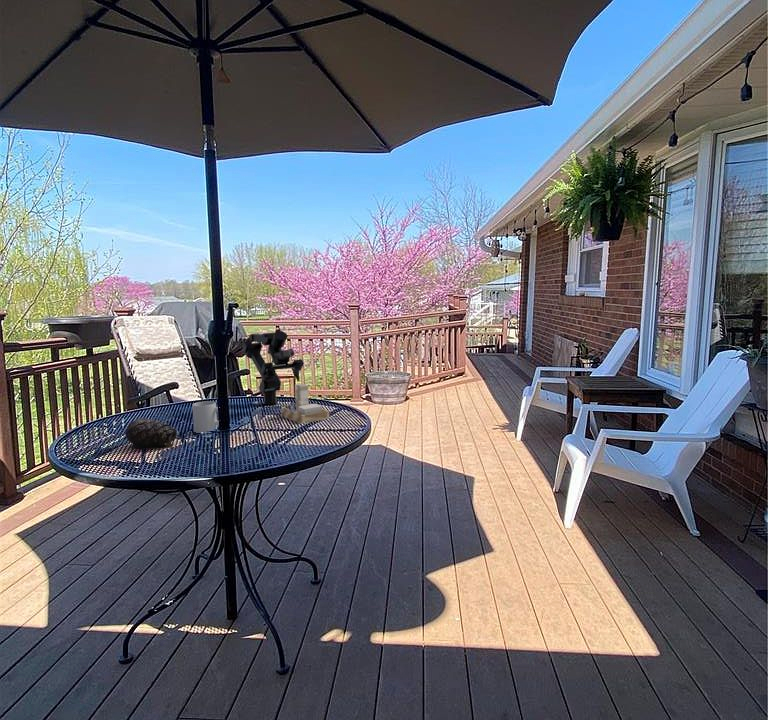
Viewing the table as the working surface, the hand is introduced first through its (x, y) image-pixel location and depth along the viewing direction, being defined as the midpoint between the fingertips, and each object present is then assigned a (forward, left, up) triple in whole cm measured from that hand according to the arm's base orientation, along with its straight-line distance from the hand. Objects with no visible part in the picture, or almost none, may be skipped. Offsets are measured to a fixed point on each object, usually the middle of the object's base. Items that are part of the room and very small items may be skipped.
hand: (289, 381), depth 210 cm
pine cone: (+42, -42, -14) cm, 61 cm away
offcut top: (+16, +10, -10) cm, 21 cm away
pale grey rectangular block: (+10, +6, -13) cm, 17 cm away
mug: (+26, -27, -14) cm, 40 cm away
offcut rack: (+12, +8, -14) cm, 19 cm away
